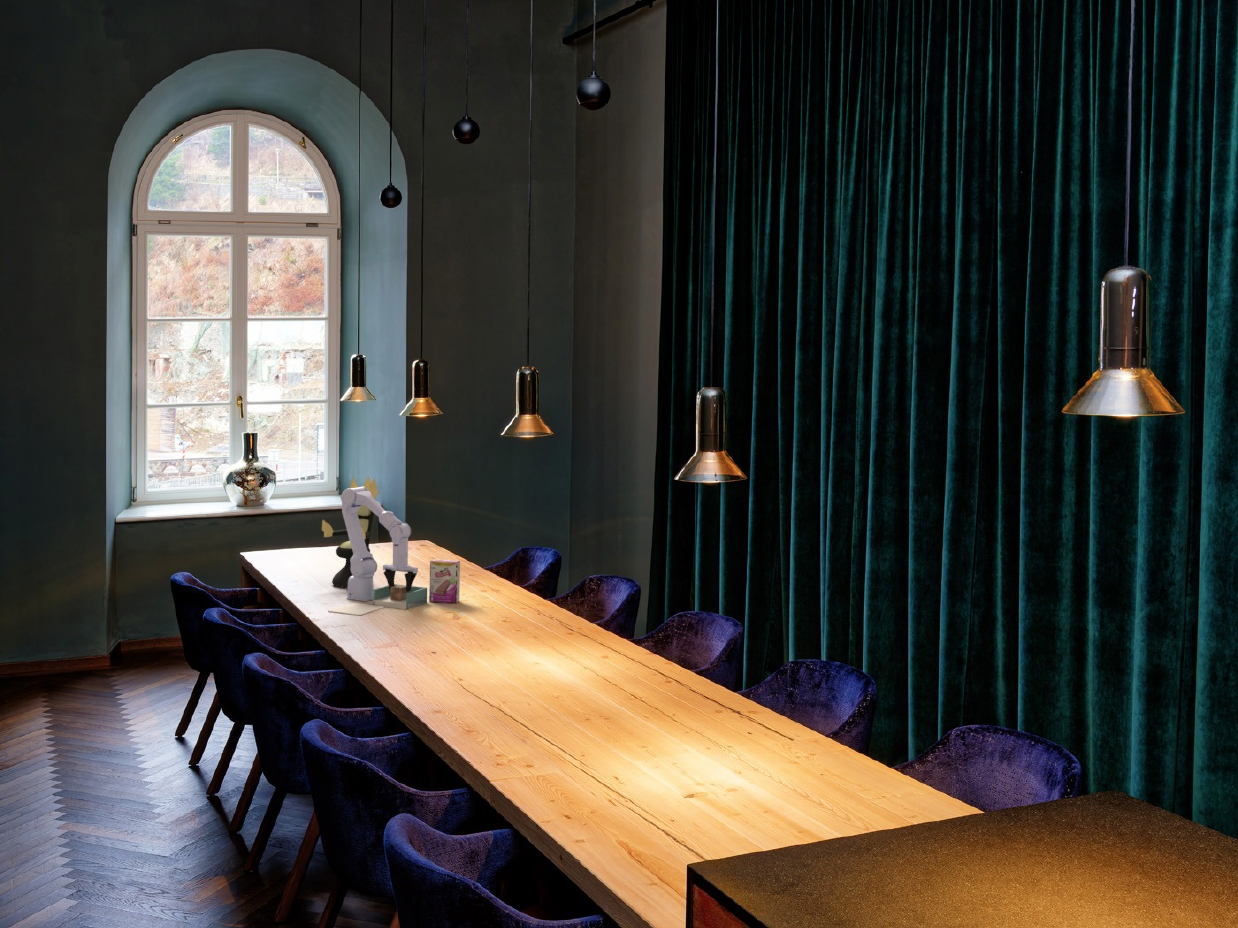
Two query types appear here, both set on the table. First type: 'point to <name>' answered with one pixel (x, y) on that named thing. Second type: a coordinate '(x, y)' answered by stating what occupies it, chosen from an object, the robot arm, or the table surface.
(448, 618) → the table surface
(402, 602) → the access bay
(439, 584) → the candy bar box
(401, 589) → the walnut block
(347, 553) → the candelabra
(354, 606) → the mat
